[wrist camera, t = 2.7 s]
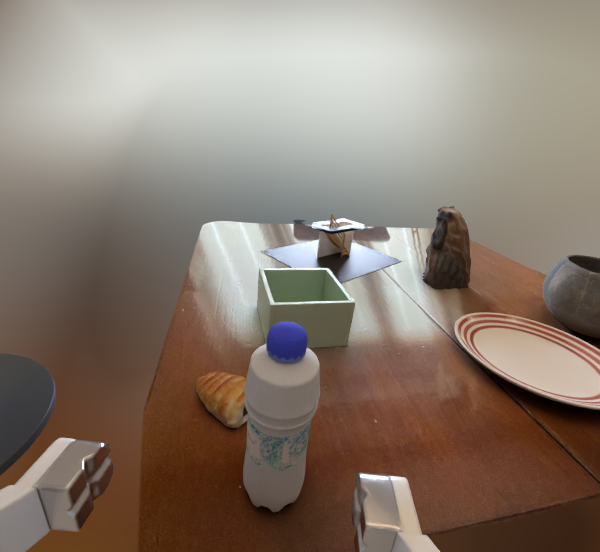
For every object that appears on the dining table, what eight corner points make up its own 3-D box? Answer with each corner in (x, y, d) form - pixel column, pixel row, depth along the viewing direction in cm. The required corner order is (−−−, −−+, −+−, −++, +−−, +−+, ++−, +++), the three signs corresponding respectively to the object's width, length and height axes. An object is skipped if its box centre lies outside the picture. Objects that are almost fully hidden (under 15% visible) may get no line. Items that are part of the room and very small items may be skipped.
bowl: (617, 320, 79) (651, 264, 73) (665, 370, 61) (715, 301, 55) (523, 298, 85) (546, 245, 79) (542, 337, 68) (574, 273, 62)
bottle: (240, 460, 37) (245, 306, 28) (298, 455, 38) (319, 306, 30) (240, 525, 31) (247, 355, 22) (309, 517, 32) (340, 352, 24)
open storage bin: (267, 351, 55) (270, 305, 51) (257, 307, 68) (259, 268, 64) (347, 345, 58) (355, 302, 55) (323, 305, 71) (328, 268, 68)
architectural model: (329, 286, 80) (337, 231, 74) (261, 251, 98) (263, 204, 92) (402, 261, 103) (413, 217, 97) (336, 236, 121) (342, 198, 115)
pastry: (182, 399, 43) (181, 377, 42) (219, 373, 49) (219, 352, 47) (235, 435, 39) (236, 412, 38) (268, 402, 45) (270, 380, 43)
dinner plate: (422, 324, 68) (427, 311, 66) (526, 320, 75) (532, 307, 73) (536, 437, 44) (546, 419, 42) (674, 415, 50) (687, 399, 49)
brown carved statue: (432, 290, 84) (455, 215, 76) (404, 271, 95) (421, 203, 87) (470, 288, 88) (495, 216, 80) (439, 269, 99) (458, 204, 91)
